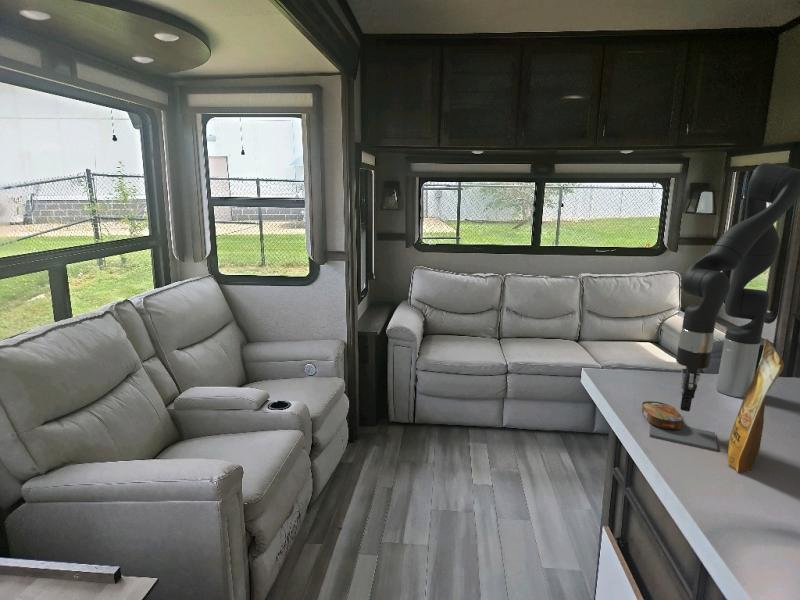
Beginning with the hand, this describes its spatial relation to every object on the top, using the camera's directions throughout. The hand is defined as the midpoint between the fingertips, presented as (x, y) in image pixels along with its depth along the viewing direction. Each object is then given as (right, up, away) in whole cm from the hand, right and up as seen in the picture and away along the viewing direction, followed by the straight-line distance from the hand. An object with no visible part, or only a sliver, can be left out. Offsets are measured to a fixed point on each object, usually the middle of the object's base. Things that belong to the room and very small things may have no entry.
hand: (684, 409), depth 135 cm
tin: (+1, -3, +5) cm, 6 cm away
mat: (-2, -6, -2) cm, 7 cm away
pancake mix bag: (+6, -9, -13) cm, 17 cm away
